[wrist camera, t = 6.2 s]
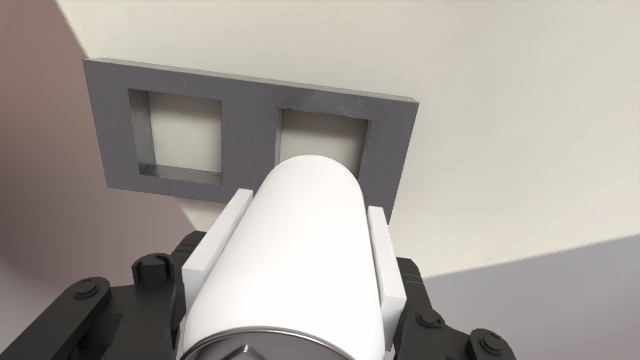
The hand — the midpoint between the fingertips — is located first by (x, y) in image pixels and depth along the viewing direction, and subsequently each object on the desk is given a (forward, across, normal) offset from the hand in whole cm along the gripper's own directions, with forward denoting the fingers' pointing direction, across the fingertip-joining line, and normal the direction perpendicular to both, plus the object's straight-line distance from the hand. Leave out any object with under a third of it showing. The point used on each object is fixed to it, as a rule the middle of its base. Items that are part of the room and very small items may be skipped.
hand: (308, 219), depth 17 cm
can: (+3, 0, 0) cm, 3 cm away
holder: (+12, -6, 0) cm, 13 cm away
